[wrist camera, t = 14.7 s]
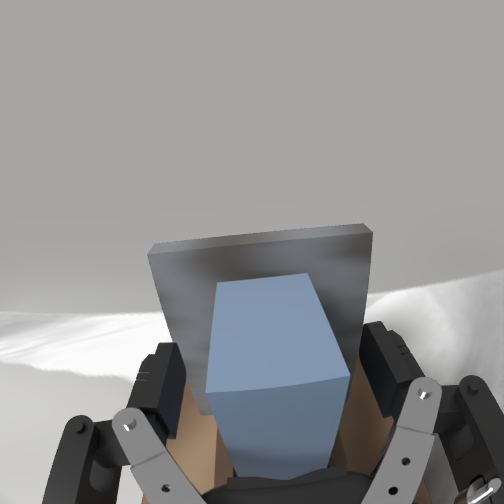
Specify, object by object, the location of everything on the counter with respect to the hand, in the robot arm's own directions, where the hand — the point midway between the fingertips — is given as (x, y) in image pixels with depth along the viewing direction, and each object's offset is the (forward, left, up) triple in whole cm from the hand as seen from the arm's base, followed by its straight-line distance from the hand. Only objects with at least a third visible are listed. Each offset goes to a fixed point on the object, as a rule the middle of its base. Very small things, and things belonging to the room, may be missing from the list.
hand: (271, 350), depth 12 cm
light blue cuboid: (0, +2, -8) cm, 8 cm away
